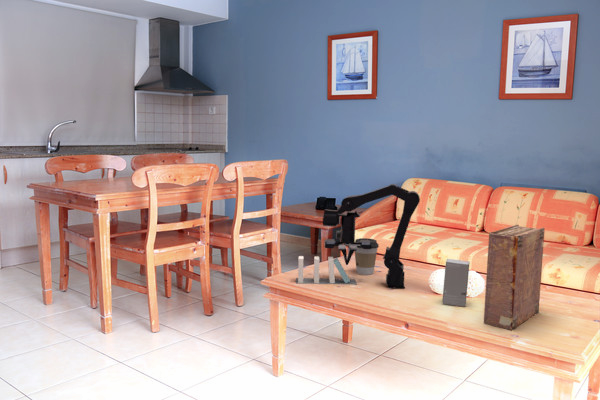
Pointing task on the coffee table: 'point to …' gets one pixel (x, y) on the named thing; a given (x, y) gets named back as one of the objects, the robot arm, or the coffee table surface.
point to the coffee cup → (366, 257)
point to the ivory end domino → (300, 269)
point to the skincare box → (455, 282)
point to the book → (513, 276)
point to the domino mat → (326, 281)
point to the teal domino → (341, 270)
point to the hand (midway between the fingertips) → (346, 264)
